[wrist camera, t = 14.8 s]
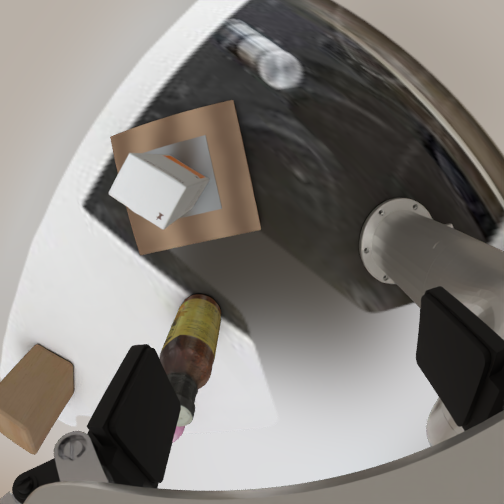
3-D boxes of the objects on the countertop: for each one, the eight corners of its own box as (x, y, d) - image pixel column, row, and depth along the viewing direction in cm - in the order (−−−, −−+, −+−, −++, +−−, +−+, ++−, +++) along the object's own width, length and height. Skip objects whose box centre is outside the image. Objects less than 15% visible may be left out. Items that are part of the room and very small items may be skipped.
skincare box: (211, 178, 34) (189, 188, 23) (192, 208, 35) (163, 232, 24) (168, 152, 33) (128, 151, 22) (151, 183, 34) (106, 195, 23)
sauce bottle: (178, 291, 42) (131, 383, 23) (221, 292, 42) (199, 391, 23) (183, 330, 44) (146, 428, 25) (223, 331, 44) (206, 435, 25)
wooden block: (39, 372, 49) (-5, 430, 30) (36, 340, 46) (-18, 399, 27) (75, 393, 50) (35, 458, 31) (74, 362, 47) (25, 432, 28)
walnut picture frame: (234, 104, 34) (232, 99, 31) (260, 224, 39) (261, 230, 36) (119, 137, 35) (109, 136, 32) (147, 248, 40) (139, 255, 37)
